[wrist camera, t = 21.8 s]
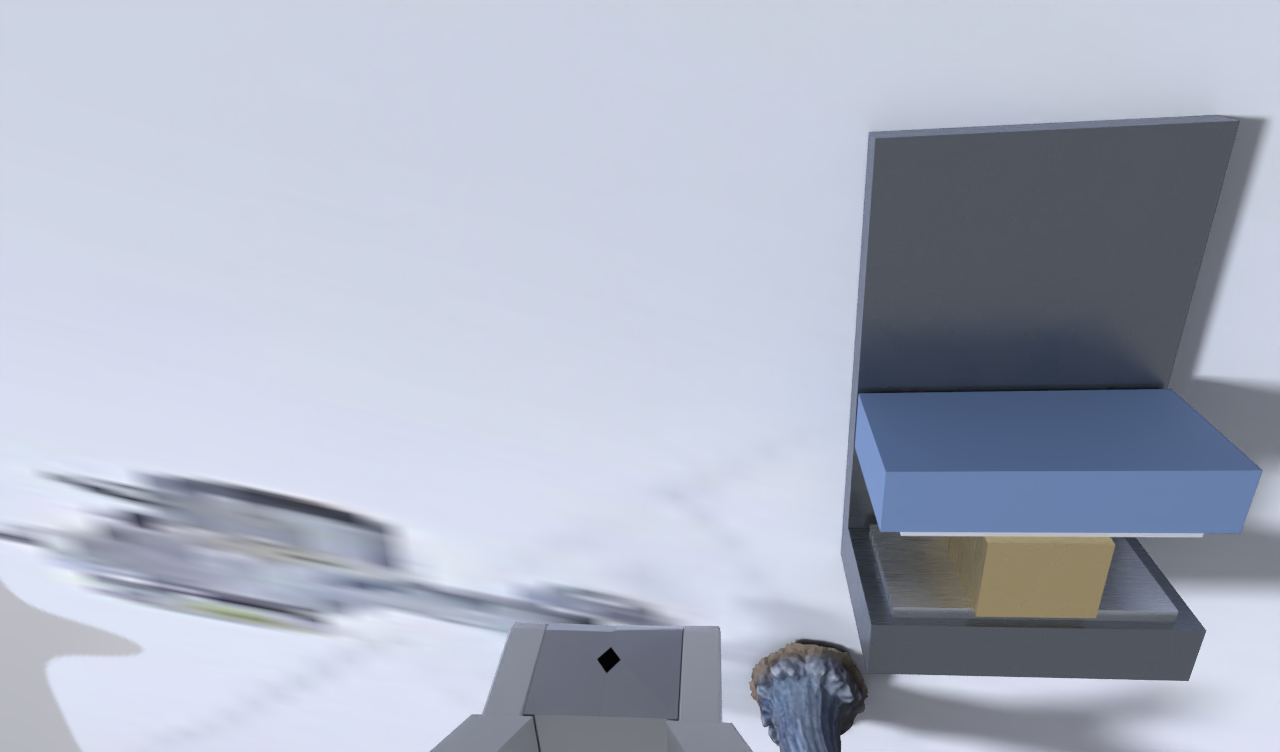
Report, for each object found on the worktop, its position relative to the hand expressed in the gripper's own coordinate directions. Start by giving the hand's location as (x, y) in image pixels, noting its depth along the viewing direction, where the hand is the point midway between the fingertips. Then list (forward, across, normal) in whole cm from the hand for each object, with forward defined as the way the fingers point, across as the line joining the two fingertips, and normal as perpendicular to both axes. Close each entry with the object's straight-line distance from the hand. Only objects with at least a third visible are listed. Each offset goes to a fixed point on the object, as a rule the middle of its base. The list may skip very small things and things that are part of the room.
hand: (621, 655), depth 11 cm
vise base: (+27, -15, +9) cm, 32 cm away
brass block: (+26, -15, +15) cm, 33 cm away
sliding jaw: (+25, -15, +11) cm, 31 cm away
